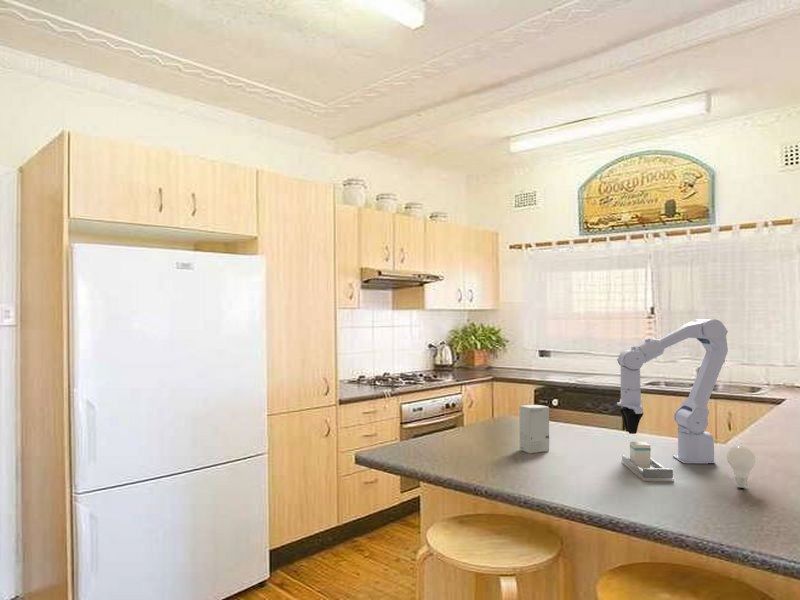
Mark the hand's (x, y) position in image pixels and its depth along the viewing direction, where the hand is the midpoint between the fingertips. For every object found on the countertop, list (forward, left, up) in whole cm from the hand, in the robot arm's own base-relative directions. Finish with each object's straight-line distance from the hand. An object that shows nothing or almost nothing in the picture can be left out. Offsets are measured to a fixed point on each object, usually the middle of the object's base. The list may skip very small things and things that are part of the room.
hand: (631, 432), depth 170 cm
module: (0, +7, -8) cm, 10 cm away
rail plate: (0, +12, -8) cm, 15 cm away
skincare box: (+28, -10, -9) cm, 31 cm away
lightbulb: (-19, +26, -9) cm, 33 cm away
